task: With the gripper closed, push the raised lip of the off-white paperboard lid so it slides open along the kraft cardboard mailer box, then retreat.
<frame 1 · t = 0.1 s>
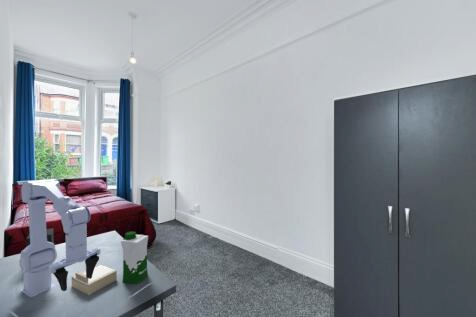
hand: (77, 283, 73), 10 cm above the table, fingers open, 7 cm apart
lid: (94, 271, 89), point 5 cm above the table, slide at 0.0 cm
mailer box: (94, 284, 89), on the table
tampon box: (41, 262, 108), on the table
milk carton: (135, 280, 92), on the table
ball: (89, 285, 87), point 1 cm above the table, touching mailer box
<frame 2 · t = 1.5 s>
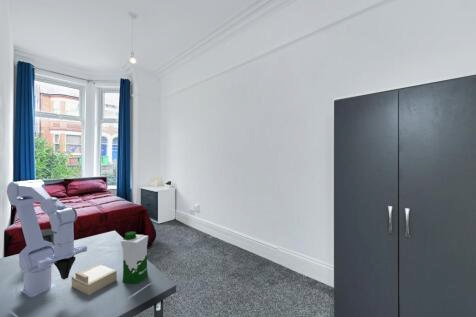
hand: (64, 278, 79), 8 cm above the table, fingers closed
nothing on the table moved.
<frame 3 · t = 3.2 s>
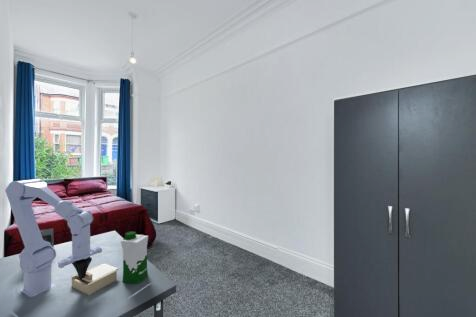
hand: (81, 277, 84), 5 cm above the table, fingers closed
lid: (98, 270, 90), point 5 cm above the table, slide at 1.5 cm, touching gripper
everything else where it was.
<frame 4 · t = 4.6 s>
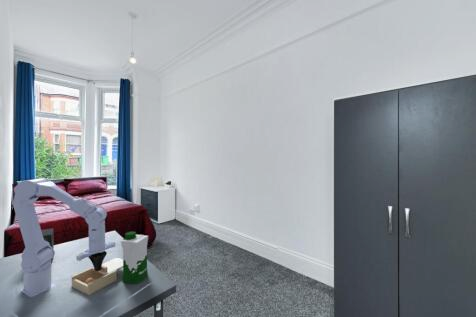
hand: (97, 270, 90), 5 cm above the table, fingers closed
lid: (112, 263, 95), point 5 cm above the table, slide at 7.5 cm, touching gripper
everything else where it was.
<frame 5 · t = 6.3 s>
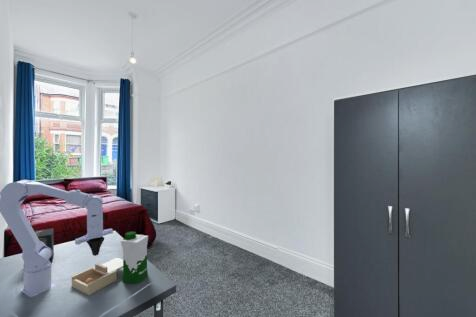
hand: (95, 254, 94), 10 cm above the table, fingers closed
lid: (112, 263, 95), point 5 cm above the table, slide at 7.5 cm
everything else where it was.
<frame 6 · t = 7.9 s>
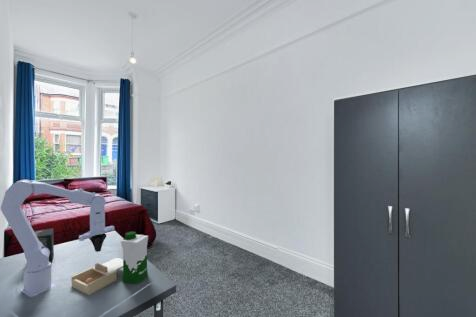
hand: (97, 250, 98), 10 cm above the table, fingers closed
nothing on the table moved.
at the end: lid slide at 7.5 cm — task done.
